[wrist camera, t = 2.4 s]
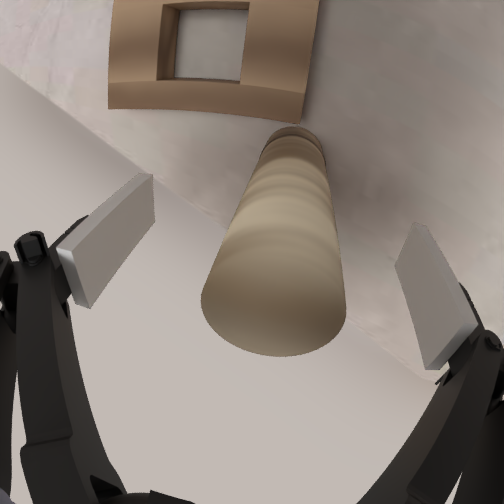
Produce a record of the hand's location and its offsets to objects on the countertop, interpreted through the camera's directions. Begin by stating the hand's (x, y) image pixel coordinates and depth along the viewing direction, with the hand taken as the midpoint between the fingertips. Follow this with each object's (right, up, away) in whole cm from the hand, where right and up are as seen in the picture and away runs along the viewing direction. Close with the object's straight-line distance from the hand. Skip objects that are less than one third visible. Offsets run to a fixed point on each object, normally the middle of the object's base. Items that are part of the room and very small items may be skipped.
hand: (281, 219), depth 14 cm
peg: (+2, +6, +8) cm, 10 cm away
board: (-4, +16, +1) cm, 16 cm away
